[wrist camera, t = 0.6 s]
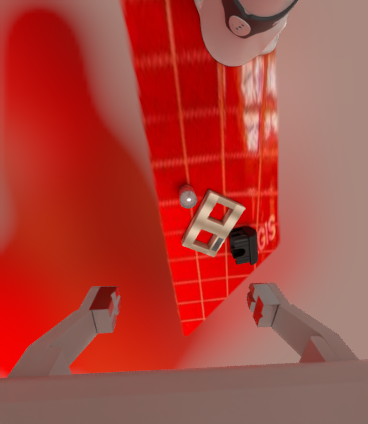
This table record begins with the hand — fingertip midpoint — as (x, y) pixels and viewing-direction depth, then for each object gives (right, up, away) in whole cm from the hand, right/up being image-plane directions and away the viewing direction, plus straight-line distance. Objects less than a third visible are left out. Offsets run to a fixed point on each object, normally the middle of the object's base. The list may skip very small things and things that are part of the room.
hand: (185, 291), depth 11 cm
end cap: (+18, -4, +46) cm, 50 cm away
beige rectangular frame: (+8, +2, +43) cm, 44 cm away
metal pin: (+1, +11, +38) cm, 40 cm away
